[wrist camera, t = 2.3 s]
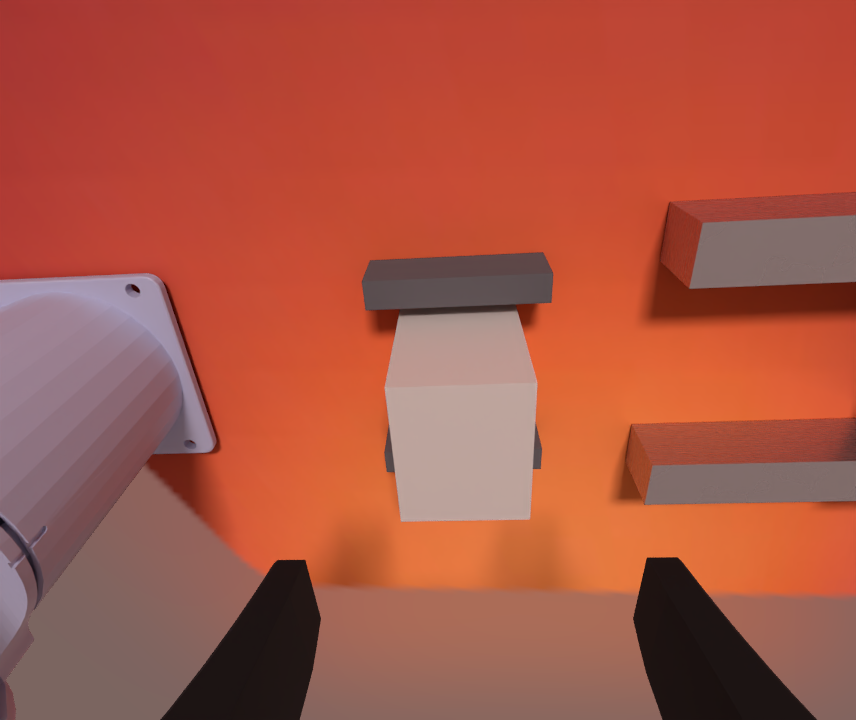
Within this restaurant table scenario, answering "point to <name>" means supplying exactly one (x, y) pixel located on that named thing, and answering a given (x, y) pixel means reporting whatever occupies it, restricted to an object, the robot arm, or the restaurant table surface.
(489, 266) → the pair of grey blocks
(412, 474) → the plug
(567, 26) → the restaurant table surface
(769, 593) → the restaurant table surface
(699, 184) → the restaurant table surface
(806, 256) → the block
